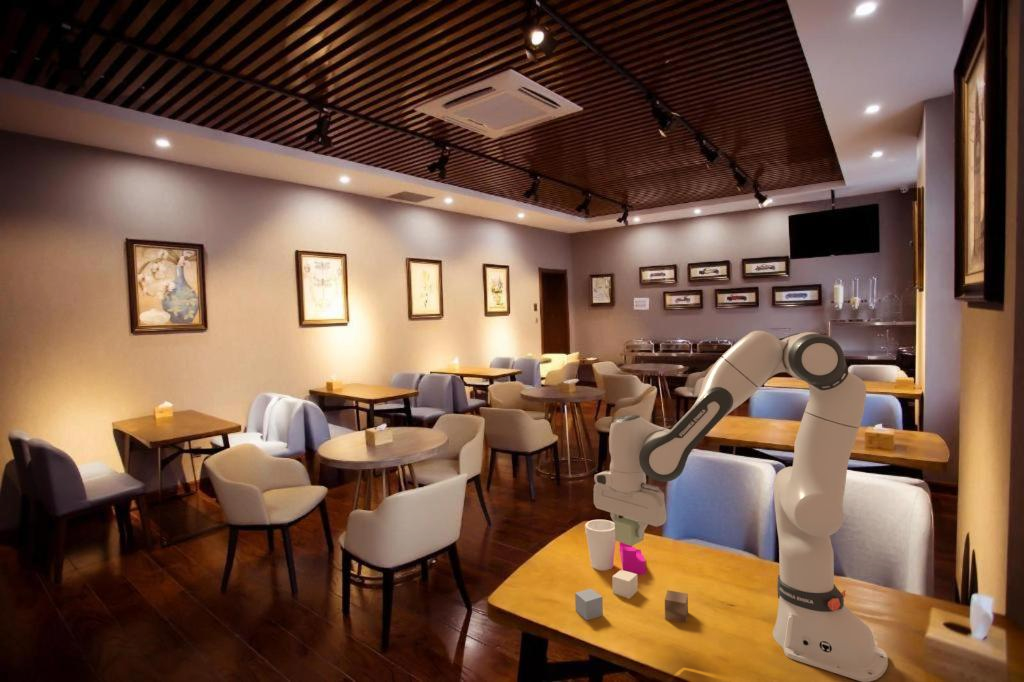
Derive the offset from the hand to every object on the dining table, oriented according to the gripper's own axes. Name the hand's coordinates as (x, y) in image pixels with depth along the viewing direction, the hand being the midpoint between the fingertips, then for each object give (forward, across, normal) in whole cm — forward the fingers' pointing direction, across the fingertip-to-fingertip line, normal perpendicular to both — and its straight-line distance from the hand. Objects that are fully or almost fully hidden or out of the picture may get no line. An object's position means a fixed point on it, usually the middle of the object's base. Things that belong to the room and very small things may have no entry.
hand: (629, 533), depth 137 cm
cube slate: (+21, +8, +7) cm, 24 cm away
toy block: (+22, +17, -24) cm, 36 cm away
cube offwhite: (+21, +8, -8) cm, 24 cm away
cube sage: (+2, 0, 0) cm, 2 cm away
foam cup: (+21, +22, -15) cm, 34 cm away
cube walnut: (+21, -8, -8) cm, 24 cm away
